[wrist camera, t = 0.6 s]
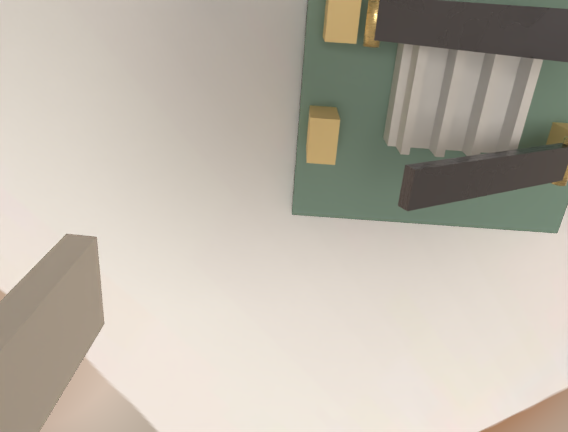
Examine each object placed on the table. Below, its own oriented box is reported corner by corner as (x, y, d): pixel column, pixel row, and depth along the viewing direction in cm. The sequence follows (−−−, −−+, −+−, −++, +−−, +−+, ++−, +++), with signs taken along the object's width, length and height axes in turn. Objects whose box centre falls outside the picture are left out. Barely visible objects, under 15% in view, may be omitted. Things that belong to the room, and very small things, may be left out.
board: (317, -118, 30) (319, -138, 25) (662, -95, 30) (727, -111, 25) (292, 208, 40) (291, 236, 35) (550, 226, 40) (582, 256, 35)
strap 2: (405, 156, 25) (418, 162, 24) (570, 135, 31) (585, 139, 30) (395, 211, 26) (407, 218, 25) (555, 179, 33) (569, 184, 32)
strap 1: (374, -12, 28) (367, -13, 27) (671, 6, 21) (673, 5, 20) (366, 45, 29) (360, 46, 28) (643, 78, 23) (644, 80, 22)
